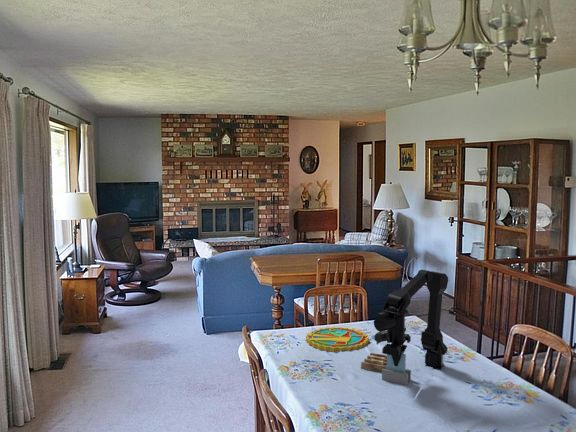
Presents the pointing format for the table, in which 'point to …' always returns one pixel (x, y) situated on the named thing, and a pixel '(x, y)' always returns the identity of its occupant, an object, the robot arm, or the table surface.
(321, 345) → the decorative plaque
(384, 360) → the offcut front
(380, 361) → the offcut small
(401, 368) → the tall sheet
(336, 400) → the table surface
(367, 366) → the rack
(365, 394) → the table surface
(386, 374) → the holder
